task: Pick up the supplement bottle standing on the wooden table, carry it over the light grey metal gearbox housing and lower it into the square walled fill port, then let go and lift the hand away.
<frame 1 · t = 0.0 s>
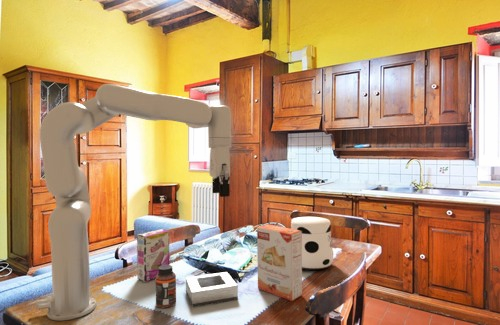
hand: (220, 194, 109), 31 cm above the table, tool pointing down, fingers open, 9 cm apart
milk container: (310, 266, 130), on the table
supplement bottle: (166, 304, 99), on the table
cracker box: (279, 293, 106), on the table
candy bar box: (154, 277, 121), on the table
gearbox housing: (211, 295, 104), on the table
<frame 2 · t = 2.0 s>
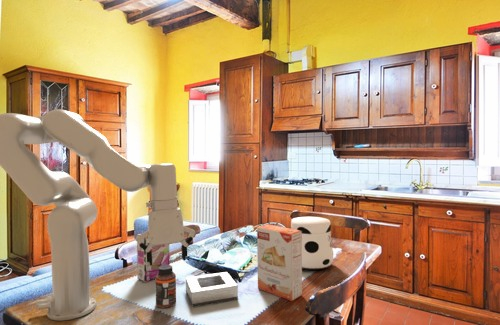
hand: (167, 261, 98), 13 cm above the table, tool pointing down, fingers open, 9 cm apart
nothing on the table moved.
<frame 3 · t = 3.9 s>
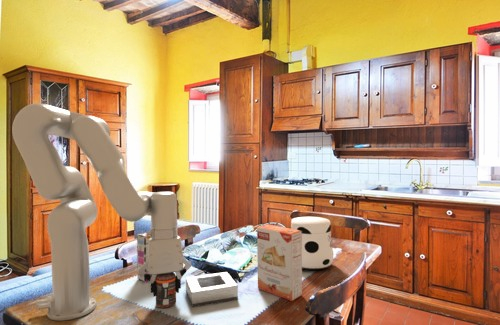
hand: (165, 292, 98), 4 cm above the table, tool pointing down, fingers closed on supplement bottle, 6 cm apart
supplement bottle: (166, 304, 99), on the table, touching gripper
everything else where it was.
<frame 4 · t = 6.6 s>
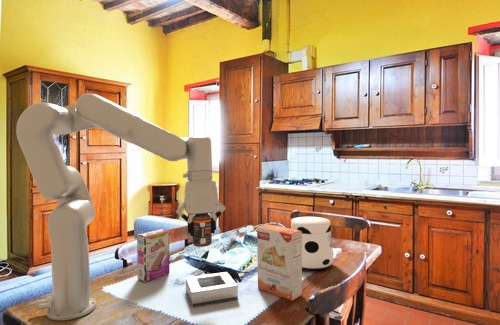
hand: (202, 233, 102), 20 cm above the table, tool pointing down, fingers closed on supplement bottle, 5 cm apart
supplement bottle: (202, 245, 103), point 16 cm above the table, touching gripper
everything else where it was.
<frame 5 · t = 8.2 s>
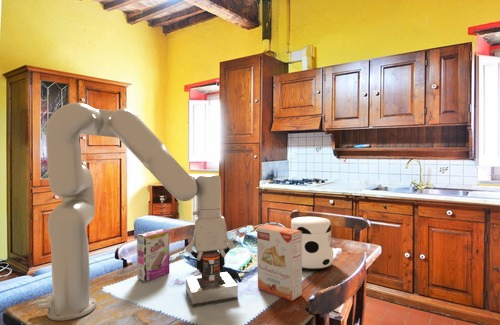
hand: (210, 269, 104), 8 cm above the table, tool pointing down, fingers closed on supplement bottle, 5 cm apart
supplement bottle: (211, 281, 104), point 5 cm above the table, touching gripper
everything else where it was.
when the fingers open (6 cm above the table, at t = 9.5 s): supplement bottle drops 1 cm, resting on gearbox housing.
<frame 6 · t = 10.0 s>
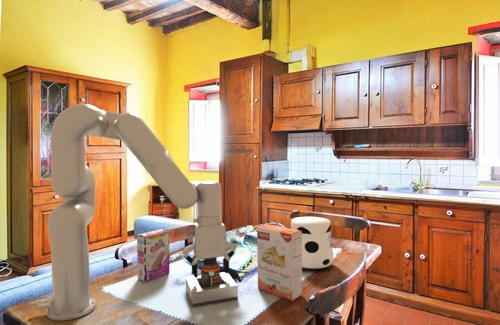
hand: (210, 274, 104), 7 cm above the table, tool pointing down, fingers open, 9 cm apart
supplement bottle: (210, 292, 104), point 1 cm above the table, touching gearbox housing
everything else where it was.
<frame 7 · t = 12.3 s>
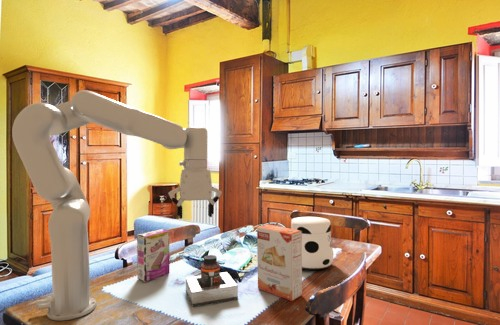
hand: (195, 217, 108), 24 cm above the table, tool pointing down, fingers open, 9 cm apart
nothing on the table moved.
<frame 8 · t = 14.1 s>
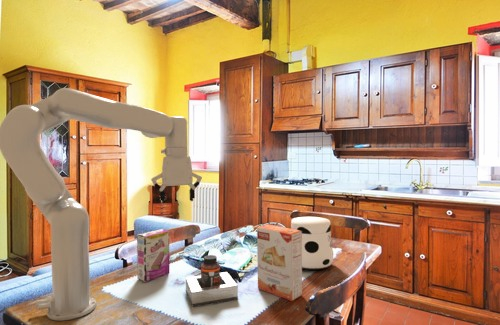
hand: (177, 201, 115), 28 cm above the table, tool pointing down, fingers open, 9 cm apart
nothing on the table moved.
at the end: supplement bottle 0.1 cm off-centre on the gearbox housing, point 0.8 cm above the gearbox housing's base; supplement bottle tilted 0°; the gripper is holding nothing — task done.
